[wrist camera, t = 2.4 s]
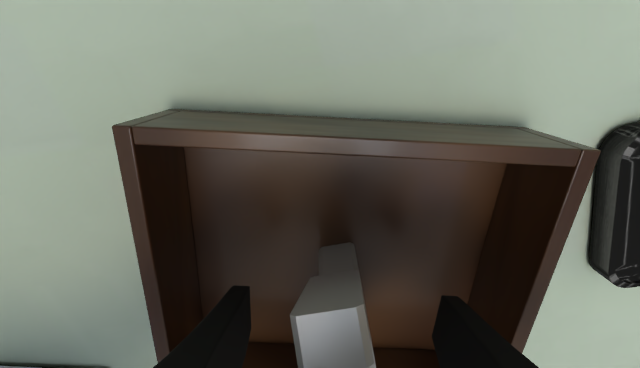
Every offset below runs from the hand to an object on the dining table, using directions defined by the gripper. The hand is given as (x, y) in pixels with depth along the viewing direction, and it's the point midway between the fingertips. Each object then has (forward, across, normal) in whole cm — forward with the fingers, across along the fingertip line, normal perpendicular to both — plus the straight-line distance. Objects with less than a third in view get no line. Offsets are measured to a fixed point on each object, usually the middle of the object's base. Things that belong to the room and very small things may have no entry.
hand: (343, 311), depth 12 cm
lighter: (+4, 0, 0) cm, 4 cm away
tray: (+4, 0, 0) cm, 4 cm away
